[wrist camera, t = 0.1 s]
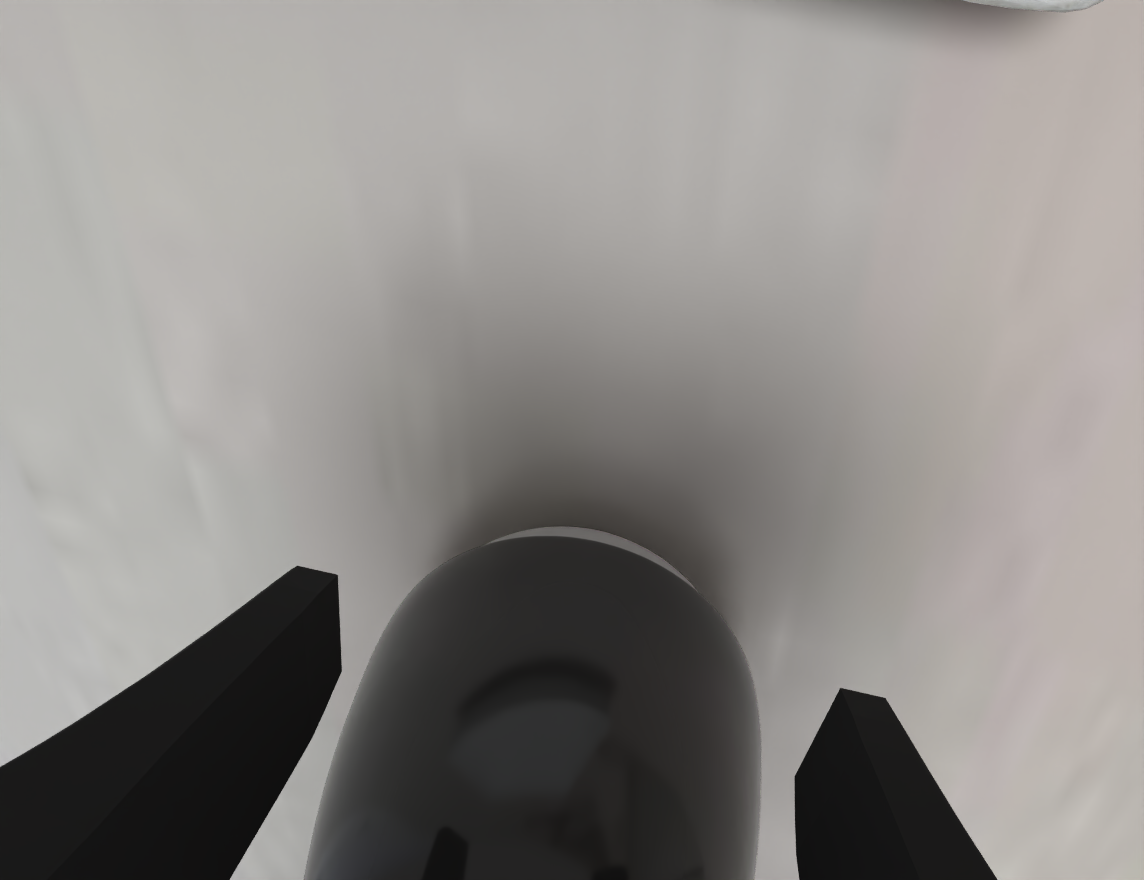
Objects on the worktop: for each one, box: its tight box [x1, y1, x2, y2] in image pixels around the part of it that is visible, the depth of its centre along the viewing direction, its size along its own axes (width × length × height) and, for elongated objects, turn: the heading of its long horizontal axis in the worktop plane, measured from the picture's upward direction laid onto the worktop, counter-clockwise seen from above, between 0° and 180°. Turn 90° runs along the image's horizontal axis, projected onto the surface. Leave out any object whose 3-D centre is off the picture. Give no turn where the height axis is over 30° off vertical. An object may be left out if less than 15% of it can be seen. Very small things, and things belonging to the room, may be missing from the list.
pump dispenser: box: [303, 526, 761, 880], centre depth 16 cm, size 10×10×15 cm
